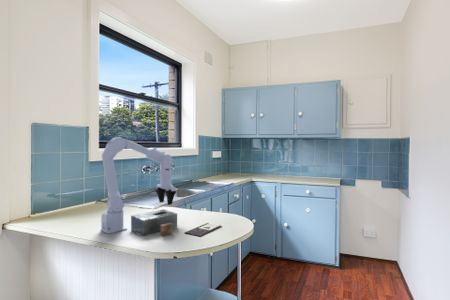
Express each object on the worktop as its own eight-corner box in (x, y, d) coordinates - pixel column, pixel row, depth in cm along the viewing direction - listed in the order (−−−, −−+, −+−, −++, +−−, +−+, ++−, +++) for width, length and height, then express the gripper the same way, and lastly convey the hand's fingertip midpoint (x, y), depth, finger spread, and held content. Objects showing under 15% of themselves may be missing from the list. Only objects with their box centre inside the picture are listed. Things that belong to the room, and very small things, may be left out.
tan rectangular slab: (163, 237, 124) (163, 225, 124) (160, 236, 126) (160, 224, 125) (172, 234, 128) (172, 223, 128) (170, 233, 129) (170, 222, 129)
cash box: (143, 236, 125) (143, 220, 125) (131, 230, 134) (131, 215, 134) (177, 227, 138) (177, 213, 138) (163, 222, 146) (163, 209, 146)
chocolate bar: (184, 232, 129) (207, 223, 144) (184, 234, 129) (207, 224, 144) (200, 235, 124) (221, 225, 140) (200, 238, 124) (221, 227, 140)
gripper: (180, 177, 144) (180, 204, 144) (164, 175, 154) (164, 200, 155) (168, 179, 139) (168, 206, 139) (153, 176, 149) (153, 202, 150)
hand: (165, 203), depth 147 cm, fingers open, 7 cm apart
